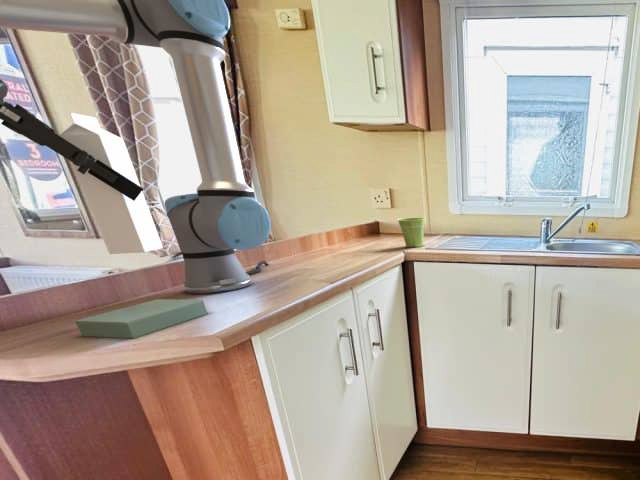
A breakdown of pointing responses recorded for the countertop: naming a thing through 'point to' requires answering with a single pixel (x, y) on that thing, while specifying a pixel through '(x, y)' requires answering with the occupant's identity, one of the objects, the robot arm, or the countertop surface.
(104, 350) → the countertop surface
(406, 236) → the plant pot
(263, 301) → the countertop surface
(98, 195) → the milk
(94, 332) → the sage green flat tile
